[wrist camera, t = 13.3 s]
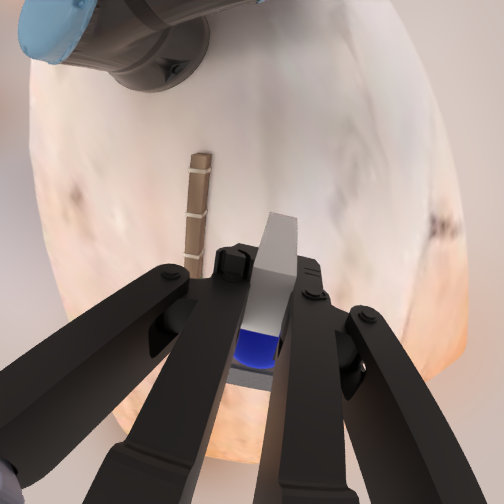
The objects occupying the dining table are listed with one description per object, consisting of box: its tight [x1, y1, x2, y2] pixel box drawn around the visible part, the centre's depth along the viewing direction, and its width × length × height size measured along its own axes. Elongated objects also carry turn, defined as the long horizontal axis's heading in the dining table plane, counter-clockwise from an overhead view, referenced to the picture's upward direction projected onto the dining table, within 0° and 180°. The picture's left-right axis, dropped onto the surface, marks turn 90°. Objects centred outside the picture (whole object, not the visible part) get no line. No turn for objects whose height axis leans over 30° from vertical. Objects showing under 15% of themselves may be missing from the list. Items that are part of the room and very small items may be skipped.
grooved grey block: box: [226, 357, 274, 392], centre depth 47 cm, size 16×5×6 cm, turn 82°
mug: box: [233, 329, 281, 369], centre depth 41 cm, size 8×12×10 cm
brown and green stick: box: [183, 153, 212, 279], centre depth 43 cm, size 2×30×3 cm, turn 173°
